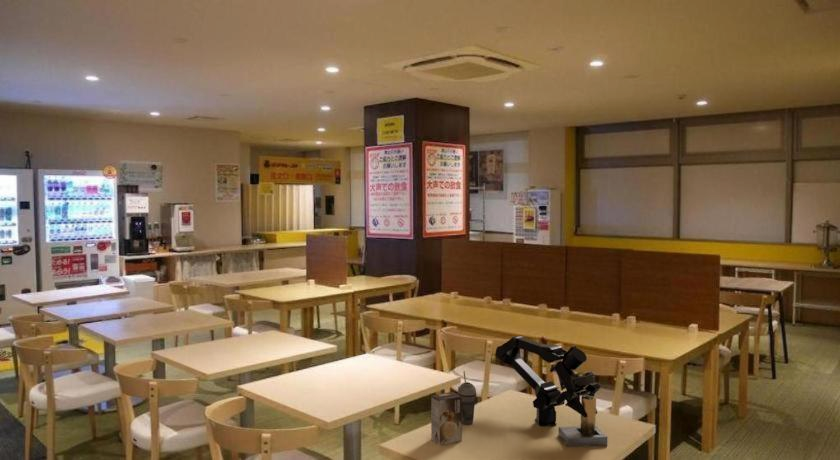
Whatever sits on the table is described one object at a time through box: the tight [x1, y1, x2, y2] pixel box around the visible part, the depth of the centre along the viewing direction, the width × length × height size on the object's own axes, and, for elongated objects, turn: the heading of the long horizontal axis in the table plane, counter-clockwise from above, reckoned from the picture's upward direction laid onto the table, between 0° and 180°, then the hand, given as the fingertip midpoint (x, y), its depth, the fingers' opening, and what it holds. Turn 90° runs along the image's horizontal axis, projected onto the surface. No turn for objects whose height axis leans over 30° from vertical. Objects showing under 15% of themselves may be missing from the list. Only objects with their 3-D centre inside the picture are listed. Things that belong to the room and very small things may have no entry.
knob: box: [580, 395, 597, 435], centre depth 211 cm, size 5×5×13 cm
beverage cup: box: [456, 370, 478, 427], centre depth 226 cm, size 7×7×20 cm
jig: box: [557, 425, 608, 448], centre depth 212 cm, size 14×10×3 cm
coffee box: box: [430, 391, 463, 446], centre depth 210 cm, size 9×6×16 cm
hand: (591, 415), depth 210 cm, fingers closed on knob, 5 cm apart
